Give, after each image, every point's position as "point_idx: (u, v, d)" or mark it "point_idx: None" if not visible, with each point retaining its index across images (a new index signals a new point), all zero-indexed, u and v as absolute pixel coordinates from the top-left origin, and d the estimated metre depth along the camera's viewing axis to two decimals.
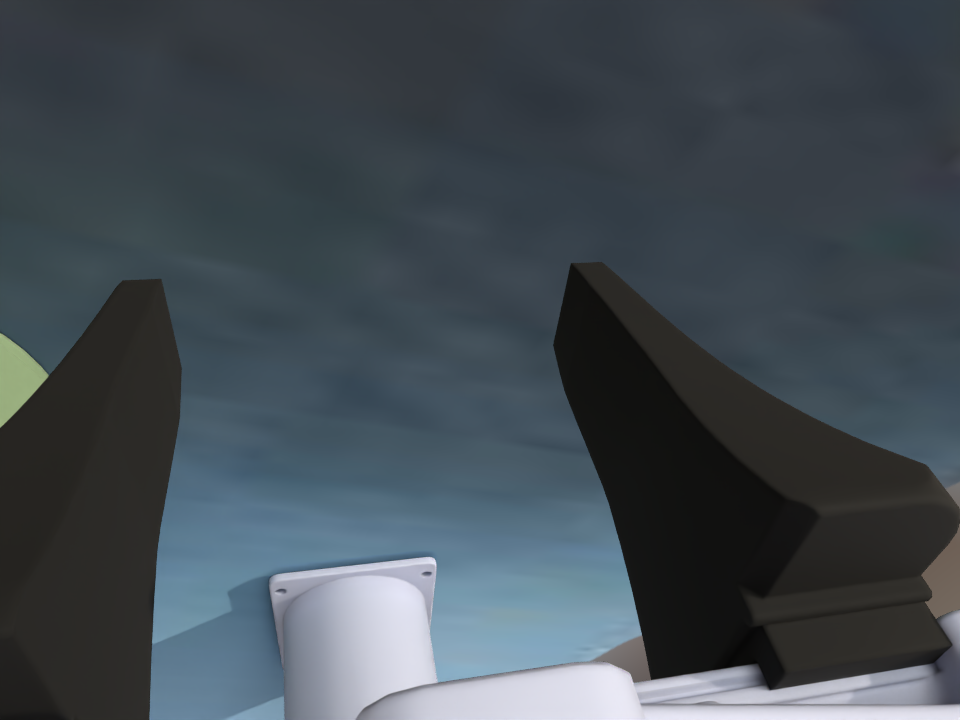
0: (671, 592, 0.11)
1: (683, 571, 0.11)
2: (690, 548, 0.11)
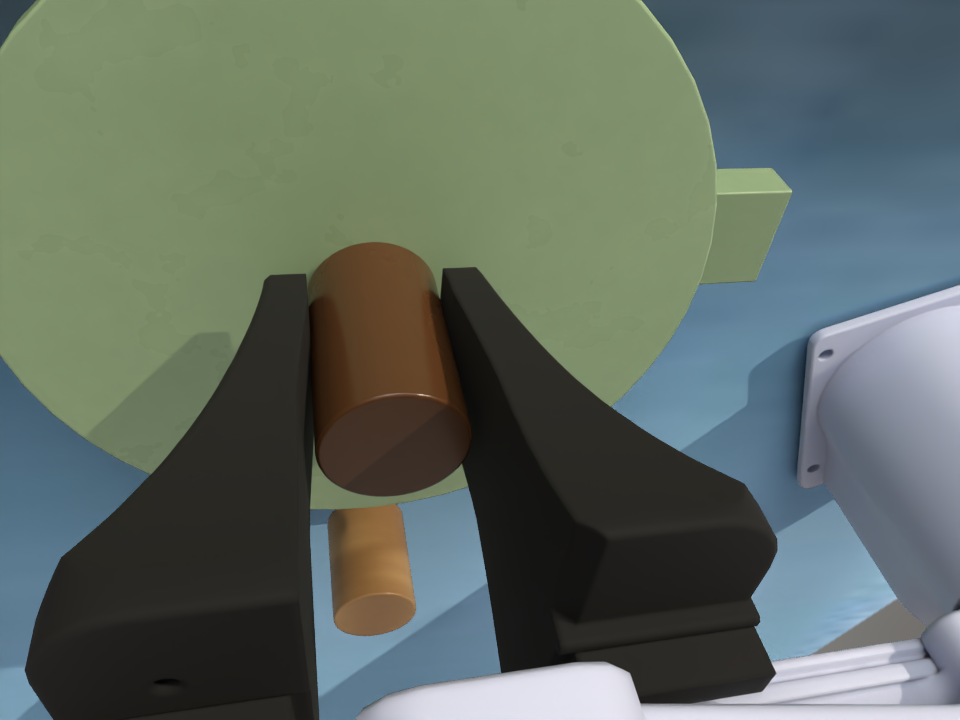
0: (513, 613, 0.11)
1: (519, 592, 0.10)
2: (522, 568, 0.10)
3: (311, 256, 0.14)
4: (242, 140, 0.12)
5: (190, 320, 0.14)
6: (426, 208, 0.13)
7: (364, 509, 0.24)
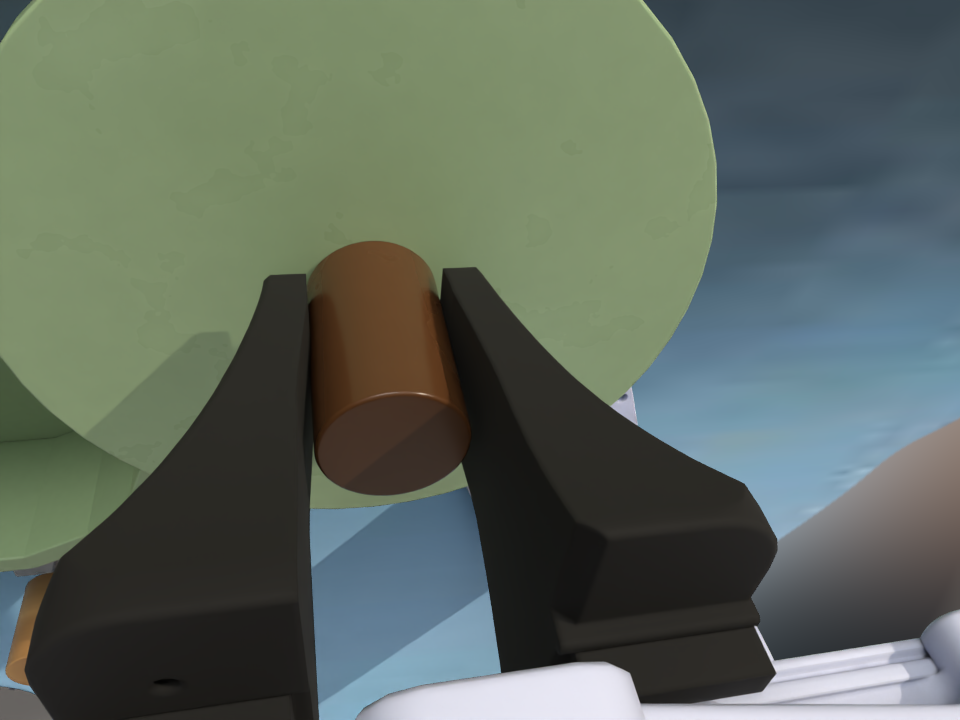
0: (513, 613, 0.11)
1: (519, 592, 0.10)
2: (522, 568, 0.10)
3: (310, 255, 0.14)
4: (241, 138, 0.12)
5: (189, 319, 0.14)
6: (425, 207, 0.13)
7: (48, 582, 0.29)
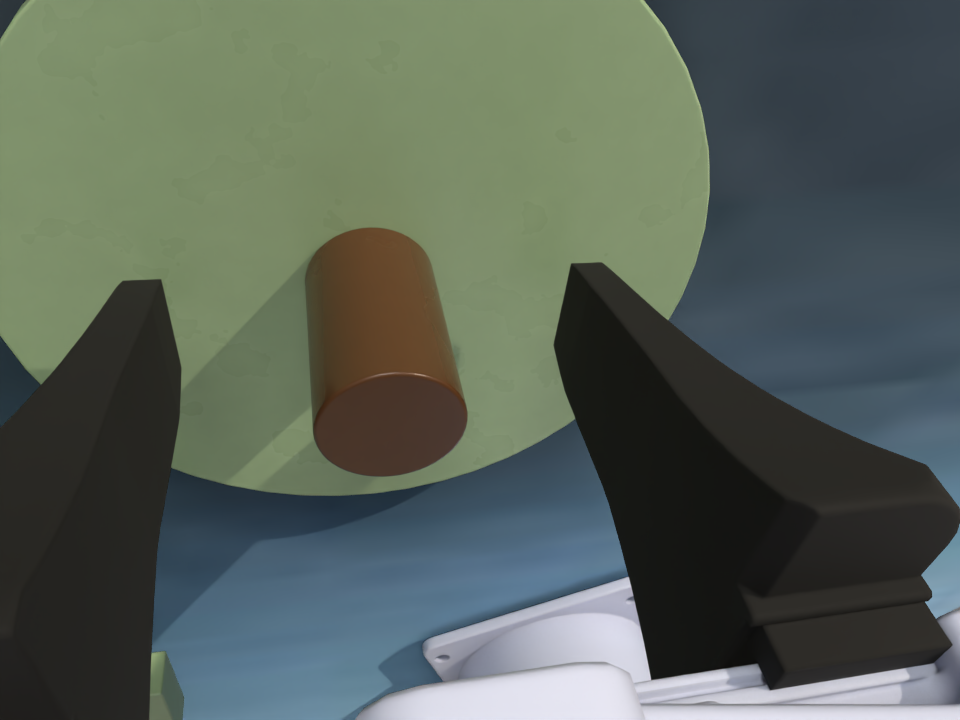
0: (671, 592, 0.11)
1: (683, 571, 0.11)
2: (690, 548, 0.11)
3: (309, 241, 0.14)
4: (241, 125, 0.12)
5: (190, 305, 0.14)
6: (423, 194, 0.14)
7: None
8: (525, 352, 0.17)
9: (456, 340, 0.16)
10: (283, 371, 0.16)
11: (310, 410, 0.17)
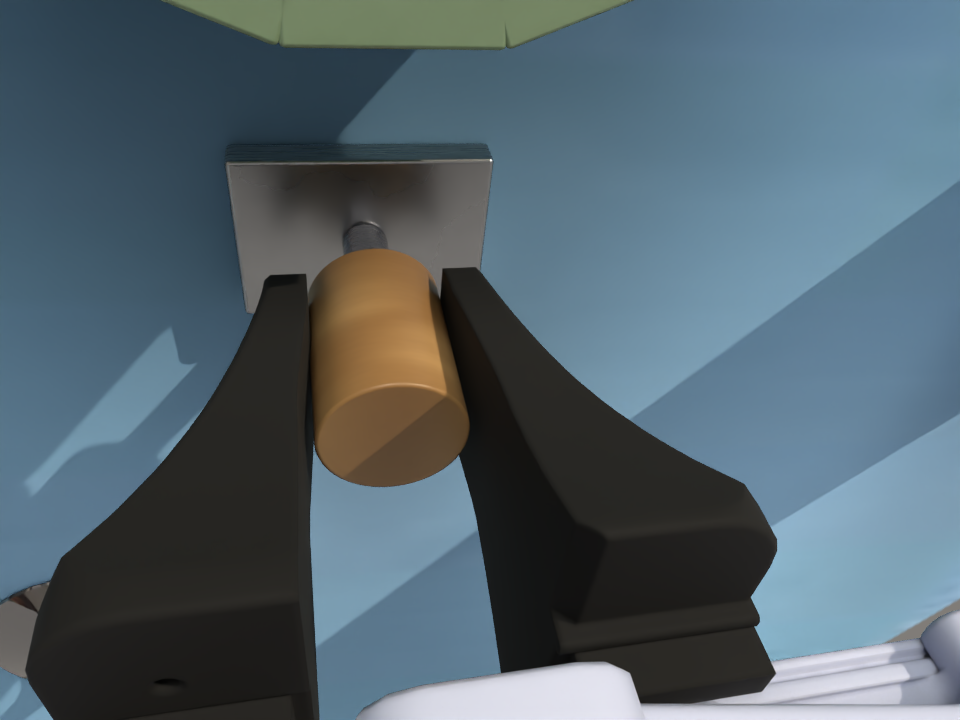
0: (513, 613, 0.11)
1: (519, 592, 0.10)
2: (522, 568, 0.10)
3: None
4: None
5: None
6: None
7: (372, 263, 0.13)
8: None
9: None
10: None
11: None
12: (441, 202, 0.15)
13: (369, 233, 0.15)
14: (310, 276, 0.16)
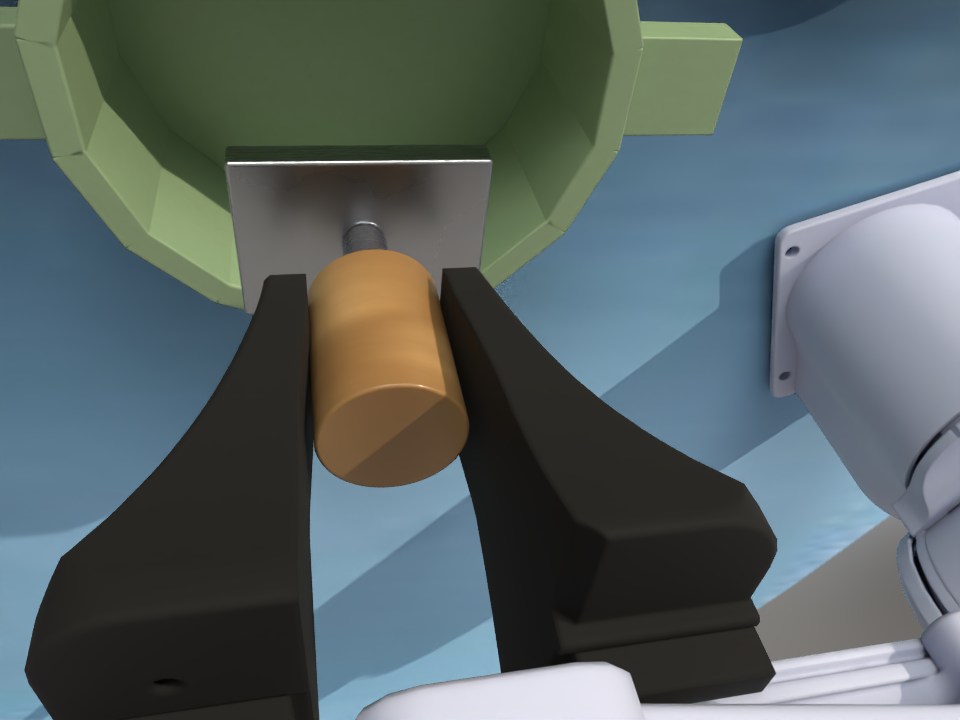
0: (513, 613, 0.11)
1: (519, 592, 0.10)
2: (522, 568, 0.10)
3: None
4: None
5: None
6: None
7: (372, 264, 0.13)
8: None
9: None
10: None
11: None
12: (440, 203, 0.15)
13: (369, 234, 0.15)
14: (310, 277, 0.16)
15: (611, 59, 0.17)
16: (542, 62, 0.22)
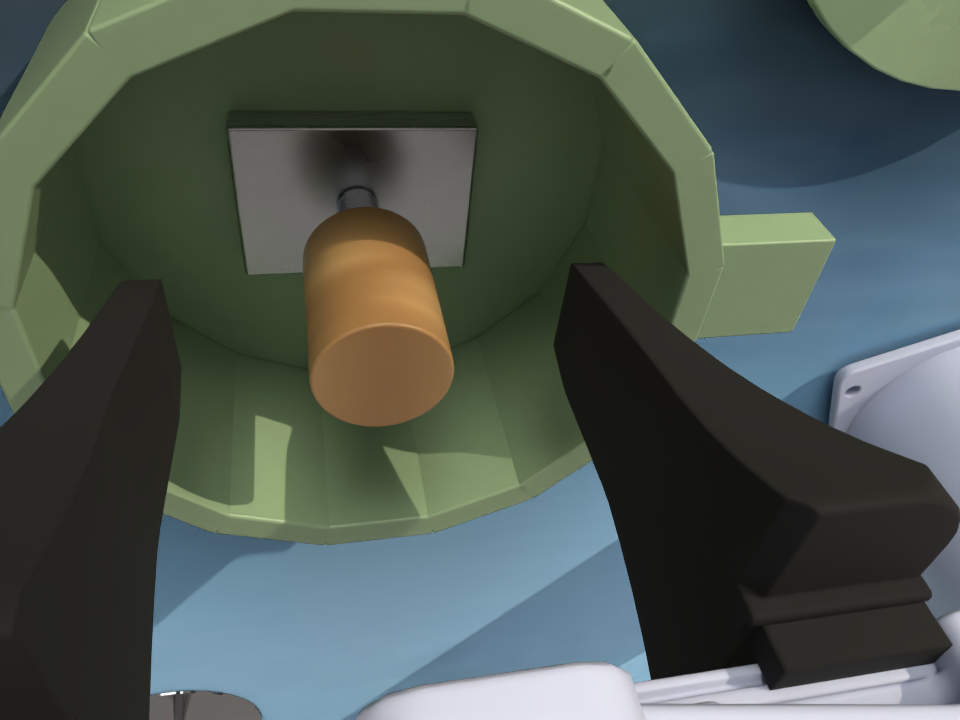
0: (671, 592, 0.11)
1: (683, 571, 0.11)
2: (690, 548, 0.11)
3: None
4: None
5: None
6: None
7: (364, 219, 0.14)
8: None
9: None
10: None
11: None
12: (429, 168, 0.16)
13: (361, 196, 0.16)
14: (306, 239, 0.17)
15: (685, 278, 0.14)
16: (587, 226, 0.19)
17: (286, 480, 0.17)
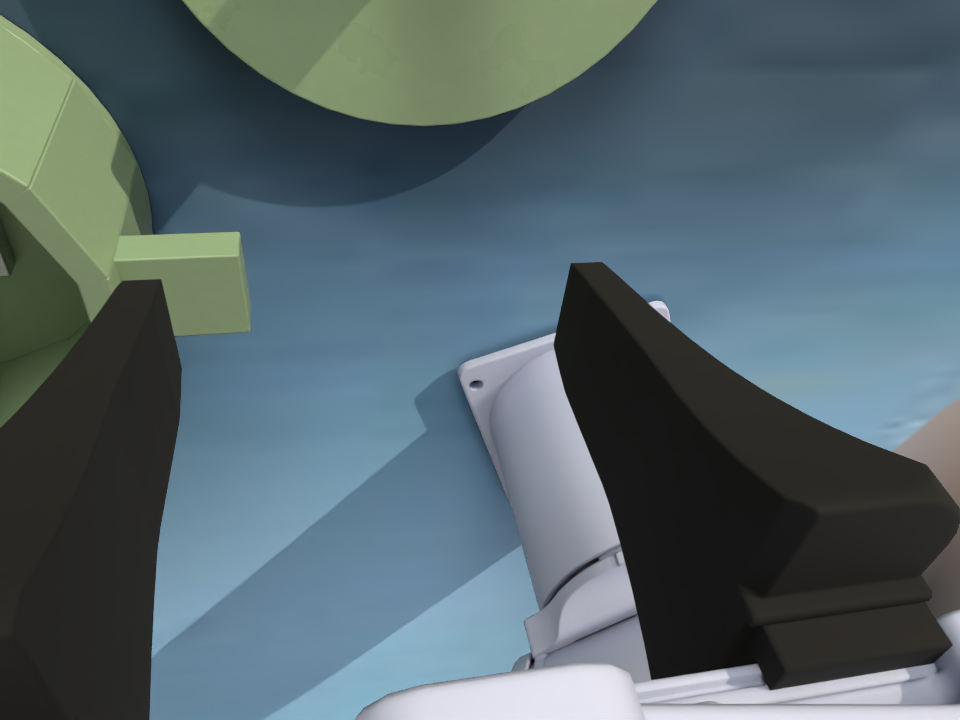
0: (671, 592, 0.11)
1: (683, 571, 0.11)
2: (690, 548, 0.11)
3: None
4: None
5: None
6: None
7: None
8: None
9: None
10: None
11: (374, 0, 0.18)
12: None
13: None
14: None
15: (79, 288, 0.17)
16: None
17: None
